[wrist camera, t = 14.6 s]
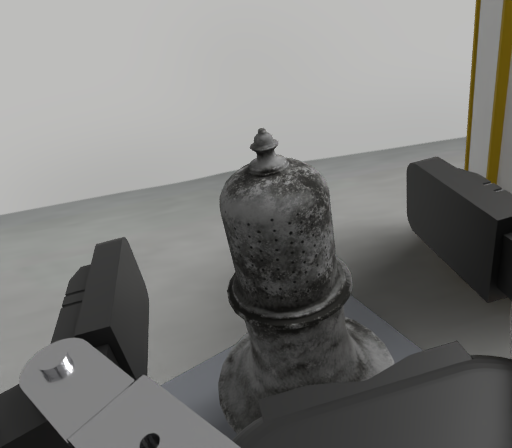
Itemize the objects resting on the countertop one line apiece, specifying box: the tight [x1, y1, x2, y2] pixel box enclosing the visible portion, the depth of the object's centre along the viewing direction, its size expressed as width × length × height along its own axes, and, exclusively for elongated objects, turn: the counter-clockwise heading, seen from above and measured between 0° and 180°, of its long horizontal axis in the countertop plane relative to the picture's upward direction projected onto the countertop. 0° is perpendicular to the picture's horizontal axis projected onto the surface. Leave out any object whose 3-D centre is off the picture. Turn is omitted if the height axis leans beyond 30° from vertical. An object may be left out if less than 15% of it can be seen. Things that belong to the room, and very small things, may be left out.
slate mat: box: [161, 295, 423, 440], centre depth 16 cm, size 12×12×1 cm
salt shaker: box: [218, 128, 395, 434], centre depth 13 cm, size 6×6×12 cm
